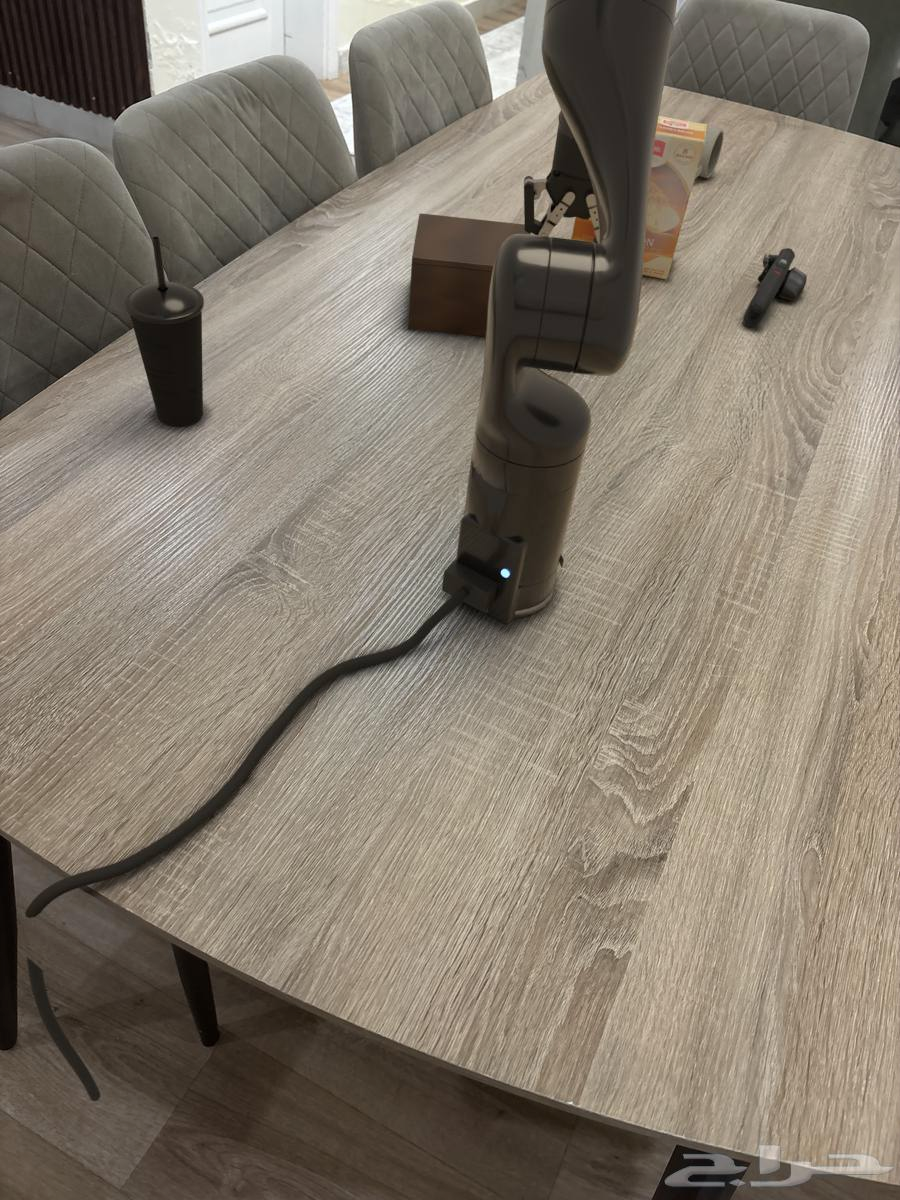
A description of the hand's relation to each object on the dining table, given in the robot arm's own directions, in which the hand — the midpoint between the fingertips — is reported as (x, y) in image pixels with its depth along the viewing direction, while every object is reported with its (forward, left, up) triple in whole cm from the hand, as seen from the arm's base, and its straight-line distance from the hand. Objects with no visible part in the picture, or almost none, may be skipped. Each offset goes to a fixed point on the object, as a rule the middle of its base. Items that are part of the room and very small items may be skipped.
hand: (566, 266), depth 120 cm
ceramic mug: (+61, +7, -8) cm, 62 cm away
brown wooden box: (-6, +10, -7) cm, 14 cm away
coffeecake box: (+22, +1, -8) cm, 23 cm away
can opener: (+25, -20, -8) cm, 33 cm away
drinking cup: (-47, +21, -8) cm, 52 cm away
